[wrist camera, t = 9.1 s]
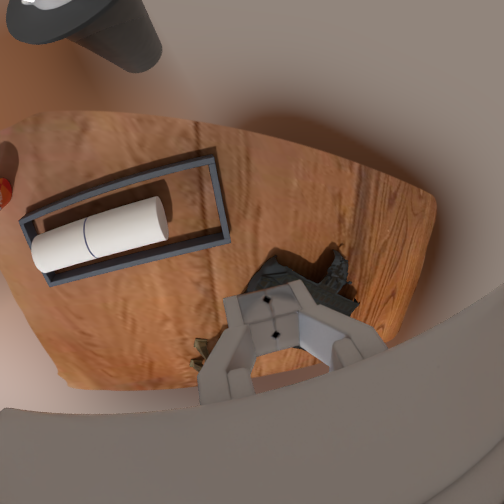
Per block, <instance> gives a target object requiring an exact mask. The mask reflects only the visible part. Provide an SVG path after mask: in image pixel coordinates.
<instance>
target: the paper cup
mask: <svg viewBox="0 0 504 504" xmlns="http://www.w3.org/2000/svg"><path fill="white" fill-rule="evenodd" d="M11 197H12V188H11V185H10V183H9V182H8V180H7V179H5V178H0V210H1V209H2V208H3V207H5V206H6V205H7V204H8V203H9V201H10V200H11Z"/></svg>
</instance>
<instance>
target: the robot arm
mask: <svg viewBox="0 0 504 504" xmlns="http://www.w3.org/2000/svg"><path fill="white" fill-rule="evenodd" d="M70 1H72V0H22V3H23V4H24V5H34V6H36V7H37V8H39V9H42V10H49V9H54V8H57V7H60V6H62V5H64V4H66V3H68V2H70ZM223 302H224V307H225V312H226V317H227V322H228V327H229V328H228V329H225V330H224V331H223V333H222V335H221V337H220V338H219V340H218V342H217V343H216V345H215V347H214V348H213V350H212V352H211V353H210V355H209V357H208V358H207V360H206V362H205V363H204V365H203V367H202V368H201V370H200V372H199V373H198V375H197V381H198V391H199V401H200V406H194V407H186V408H180V409H171V410H162V411H152V412H140V413H125V414H62V413H47V412H36V411H27V410H20V409H14V408H4V409H3V410H2V411H0V504H504V283H503V284H501V285H500V286H499V287H497V288H496V289H494V290H493V291H491V292H490V293H489V294H487V295H486V296H484V297H483V298H481V299H480V300H478V301H477V302H475V303H474V304H472V305H470V306H469V307H467V308H465V309H464V310H462V311H460V312H459V313H457V314H456V315H454V316H452V317H450V318H449V319H447V320H445V321H443V322H442V323H440V324H438V325H436V326H434V327H432V328H430V329H429V330H427V331H425V332H423V333H421V334H419V335H417V336H415V337H413V338H411V339H409V340H407V341H405V342H403V343H401V344H399V345H396V346H394V347H392V348H390V349H388V347H387V346H386V345H385V343H384V342H383V340H382V339H381V338H380V336H379V335H378V333H377V332H376V331H375V329H374V328H373V327H372V326H370V325H367V324H365V323H363V322H360V321H358V320H356V319H353V318H351V317H349V316H346V315H344V314H342V313H339V312H337V311H335V310H332V309H330V308H328V307H326V306H323V305H321V304H320V305H317V304H316V303H315V301H314V300H313V298H312V296H311V295H310V293H309V291H308V290H307V288H306V287H305V285H304V283H303V282H302V280H296V281H293V282H289V283H287V284H283V285H279V286H275V287H271V288H267V289H263V290H258V291H254V292H249V293H244V294H240V295H237V296H231V297H226V298H223ZM298 345H300V347H302V348H303V349H305V350H306V351H308V352H309V353H311V354H312V355H313V356H315V357H316V358H318V359H319V360H321V361H322V362H324V363H325V364H327V365H328V366H330V368H329V373H327V374H324V375H321V376H318V377H315V378H312V379H309V380H306V381H303V382H299V383H296V384H292V385H289V386H285V387H282V388H278V389H274V390H271V391H267V392H263V393H259V394H255V391H254V387H253V384H252V380H251V377H250V374H251V372H252V369H253V366H254V363H255V361H256V357H258V356H261V355H265V354H268V353H272V352H275V351H279V350H283V349H287V348H291V347H295V346H298Z"/></svg>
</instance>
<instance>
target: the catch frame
mask: <svg viewBox="0 0 504 504" xmlns="http://www.w3.org/2000/svg"><path fill="white" fill-rule="evenodd" d="M203 165H209V170H210V175H211V180H212V185H213V189H214V194H215V199H216V204H217V209H218V213H219V218H220V223H221V227H222V232H220V233H216V234H212V235H207V236H203V237H199V238H194V239H190V240H186V241H182V242H178V243H174V244H170V245H165V246H161V247H157V248H153V249H149V250H145V251H141V252H137V253H134V254H130V255H126V256H122V257H118V258H114V259H110V260H107V261H103V262H99V263H95V264H92V265H88V266H84V267H80V268H77V269H73V270H70V271H66V272H62V273H59V274H55V272H54V271H51V272H48V273H43V272H42V274H43V276H44V278H45V280H46V282H47V283H48V285H49V287H53V286H56V285H60V284H64V283H68V282H72V281H76V280H80V279H84V278H88V277H92V276H96V275H100V274H104V273H108V272H112V271H116V270H120V269H124V268H128V267H132V266H136V265H140V264H144V263H148V262H152V261H156V260H161V259H165V258H169V257H173V256H177V255H182V254H186V253H190V252H194V251H198V250H203V249H207V248H211V247H216V246H220V245H224V244H229V243H231V240H230V235H229V230H228V225H227V220H226V215H225V210H224V205H223V200H222V195H221V190H220V185H219V180H218V175H217V170H216V164H215V159H214V156H213V154H211V155H206V156H202V157H197V158H193V159H189V160H184V161H180V162H176V163H172V164H168V165H165V166H161V167H157V168H153V169H150V170H146V171H143V172H139V173H136V174H133V175H129V176H126V177H123V178H120V179H117V180H114V181H110V182H107V183H104V184H102V185H99V186H96V187H93V188H90V189H87V190H85V191H82V192H79V193H76V194H74V195H71V196H69V197H66V198H63V199H61V200H58V201H56V202H54V203H51V204H49V205H46V206H44V207H42V208H39V209H37V210H35V211H32V212H30V213H28V214H26V215H25V216H23V217H22V218H21V219H20V220H19V224H20V226H21V229H22V231H23V234H24V236H25V238H26V241H27V243H28V245H29V247H30V249H31V246H32V242H33V239H34V238H35V237H36V236H37V233H36V231H35V228H34V226H33V223H32V221H31V220H33V219H36V218H38V217H41V216H43V215H45V214H48V213H50V212H53V211H55V210H58V209H60V208H63V207H66V206H68V205H71V204H74V203H76V202H79V201H82V200H85V199H87V198H90V197H93V196H96V195H99V194H102V193H105V192H108V191H111V190H114V189H118V188H121V187H124V186H127V185H131V184H134V183H137V182H141V181H144V180H148V179H151V178H155V177H159V176H162V175H166V174H170V173H174V172H178V171H182V170H186V169H190V168H195V167H199V166H203Z"/></svg>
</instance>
